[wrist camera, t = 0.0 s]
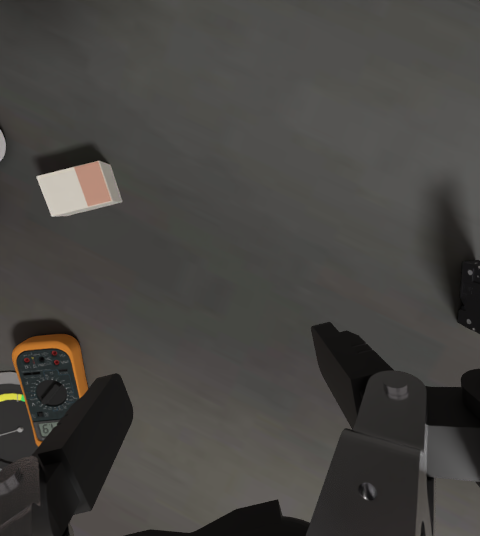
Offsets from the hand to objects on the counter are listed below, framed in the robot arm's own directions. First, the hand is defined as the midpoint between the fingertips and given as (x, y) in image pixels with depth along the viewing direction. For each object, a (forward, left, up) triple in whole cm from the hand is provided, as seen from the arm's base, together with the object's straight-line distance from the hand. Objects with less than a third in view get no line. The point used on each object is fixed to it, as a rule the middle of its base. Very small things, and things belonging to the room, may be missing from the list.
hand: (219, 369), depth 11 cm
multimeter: (+14, -30, -30) cm, 45 cm away
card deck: (-13, -16, -30) cm, 36 cm away
